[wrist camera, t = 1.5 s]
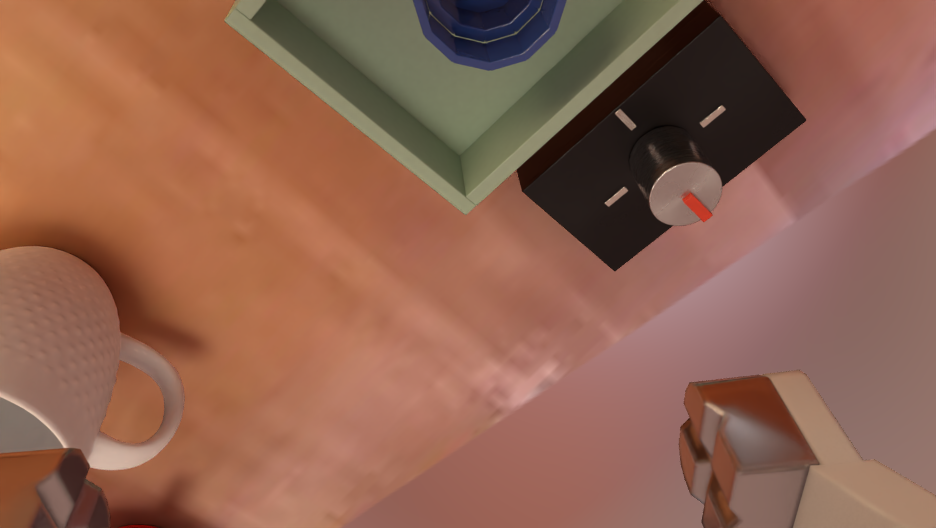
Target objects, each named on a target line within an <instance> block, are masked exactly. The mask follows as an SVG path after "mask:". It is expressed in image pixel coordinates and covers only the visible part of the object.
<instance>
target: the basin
mask: <svg viewBox="0 0 936 528" xmlns="http://www.w3.org/2000/svg"><path fill="white" fill-rule="evenodd" d="M702 1H703V0H567V1H566V4H565V7H564V11H563V14H562V17H561V20H560V23H559V26H558V29H557V31H556V33H555V34H554V35H553V36H552V37H551V38H550V39H549V40H548V41H547V42H546V43H545V44H544V45H543V46H542V47H541V48H540V49H539V50H538V51H537V52H536V53H535V54H533V55H532V56H531V57H530V58H529V59H527V60H526V61H523V62H520V63H517V64H513V65H510V66H506V67H503V68H499V69H496V70H492V71H491V70H490V71H487V70H482V69H478V68H474V67H469V66H465V65H460V64H456V63H453V62H451V61H450V60H449V59H448V58H447V57H446V56H445V55H444V54H443V53H441V52H440V51H439V50H438V49H437V48H436V47H435V46H434V45H433V44H432V43H431V42H429V41H428V40H427V39H426V38H425V36H424V35H423V32H422V29H421V26H420V22H419V19H418V16H417V13H416V10H415V6H414V3H413V0H235V2H234V4H233V6H232V8H231V9H230V11H229V13H228V15H227V17H226V18H225V22H226V23H227V24H228V25H230V26H231V27H232V28H233V29H235V30H236V31H237V32H238V33H240V34H241V35H242V36H243V37H245V38H246V39H247V40H248V41H250V42H251V43H252V44H253V45H255V46H256V47H257V48H258V49H260V50H261V51H262V52H263V53H265V54H266V55H267V56H268V57H269V58H271V59H272V60H273V61H274V62H276V63H277V64H278V65H279V66H281V67H282V68H283V69H284V70H286V71H287V72H288V73H289V74H291V75H292V76H293V77H294V78H296V79H297V80H298V81H299V82H301V83H302V84H303V85H304V86H306V87H307V88H308V89H309V90H311V91H312V92H313V93H314V94H315V95H317V96H318V97H319V98H320V99H322V100H323V101H324V102H325V103H327V104H328V105H329V106H330V107H332V108H333V109H334V110H335V111H337V112H338V113H339V114H340V115H342V116H343V117H344V118H345V119H347V120H348V121H349V122H350V123H352V124H353V125H354V126H355V127H356V128H358V129H359V130H360V131H361V132H363V133H364V134H365V135H366V136H368V137H369V138H370V139H371V140H373V141H374V142H375V143H376V144H378V145H379V146H380V147H381V148H383V149H384V150H385V151H386V152H388V153H389V154H390V155H391V156H393V157H394V158H395V159H396V160H398V161H399V162H400V163H401V164H402V165H404V166H405V167H406V168H407V169H409V170H410V171H411V172H412V173H414V174H415V175H416V176H417V177H419V178H420V179H421V180H422V181H424V182H425V183H426V184H427V185H429V186H430V187H431V188H432V189H434V190H435V191H436V192H437V193H439V194H440V195H441V196H442V197H444V198H445V199H446V200H447V201H448V202H450V203H451V204H452V205H453V206H455V207H456V208H457V209H458V210H460V211H461V212H462V213H463V214H465V215H467V214H468V213H469V212H470V211H471V210H472V209H473V208H474V207H475V206H476V205H478V204H479V203H480V202H481V201H482V200H483V199H485V198H486V197H487V196H488V195H489V194H490V193H491V192H492V191H493V190H494V189H496V188H497V187H498V186H499V185H500V184H501V183H502V182H503V181H504V180H506V179H507V178H508V177H509V176H510V175H511V174H512V173H513V172H514V171H515V170H517V169H518V168H519V167H520V166H521V165H522V164H523V163H524V162H525V161H526V160H528V159H529V158H530V157H531V156H532V155H533V154H534V153H535V152H536V151H538V150H539V149H540V148H541V147H542V146H543V145H544V144H545V143H546V142H547V141H549V140H550V139H551V138H552V137H553V136H554V135H555V134H556V133H557V132H559V131H560V130H561V129H562V128H563V127H564V126H565V125H566V124H567V123H568V122H570V121H571V120H572V119H573V118H574V117H575V116H576V115H577V114H578V113H579V112H581V111H582V110H583V109H584V108H585V107H586V106H587V105H588V104H589V103H591V102H592V101H593V100H594V99H595V98H596V97H597V96H598V95H599V94H600V93H602V92H603V91H604V90H605V89H606V88H607V87H608V86H609V85H610V84H612V83H613V82H614V81H615V80H616V79H617V78H618V77H619V76H620V75H621V74H623V73H624V72H625V71H626V70H627V69H628V68H629V67H630V66H631V65H633V64H634V63H635V62H636V61H637V60H638V59H639V58H640V57H641V56H642V55H644V54H645V53H646V52H647V51H648V50H649V49H650V48H651V47H652V46H653V45H655V44H656V43H657V42H658V41H659V40H660V39H661V38H662V37H663V36H665V35H666V34H667V33H668V32H669V31H670V30H671V29H672V28H673V27H674V26H676V25H677V24H678V23H679V22H680V21H681V20H682V19H683V18H684V17H686V16H687V15H688V14H689V13H690V12H691V11H692V10H693V9H694V8H695V7H697V6H698V5H699V4H700V3H701V2H702ZM542 2H543V0H542ZM541 6H542V3H541ZM428 9H429V8H428ZM540 9H541V7H540V8H539V9H538V12H539V11H540ZM429 12H430V11H429ZM538 12H537V13H538ZM537 13H536V14H537ZM430 14H431V12H430ZM536 14H535V15H536ZM431 15H432V14H431ZM535 15H534V16H535ZM432 16H433V15H432ZM534 16H533V17H534ZM433 17H434V16H433ZM533 17H532V18H533ZM434 18H435V17H434ZM532 18H531V19H532ZM435 19H436V18H435ZM531 19H530V20H531ZM436 20H437V19H436ZM530 20H529V21H530ZM437 21H438V20H437ZM529 21H528V22H529ZM438 22H439V21H438ZM528 22H527V23H528ZM439 23H440V22H439ZM527 23H526V24H527ZM440 24H441V23H440ZM526 24H525V25H526ZM441 25H442V24H441ZM525 25H524V26H525ZM442 26H443V25H442ZM524 26H523V27H524ZM523 27H522V28H523ZM522 28H521V29H522ZM521 29H520V30H521ZM520 30H519V31H520ZM448 31H449V30H448ZM519 31H518V32H519ZM449 32H450V31H449ZM518 32H515V33H514V34H512V35H515V34H517V33H518ZM450 33H451V32H450ZM451 34H452V33H451ZM452 35H453V36H455V34H452ZM512 35H508V36H512ZM508 36H505V37H508ZM455 37H459V36H455ZM505 37H502V38H505ZM460 38H463V37H460ZM502 38H498V39H502ZM464 39H467V38H464ZM498 39H495V40H498ZM468 40H472V39H468ZM495 40H491V41H495ZM473 41H476V40H473ZM491 41H488V42H491ZM477 42H480V41H477ZM488 42H486V41H484V42H481V43H488Z"/></svg>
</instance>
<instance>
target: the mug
mask: <svg viewBox="0 0 936 528" xmlns="http://www.w3.org/2000/svg"><path fill="white" fill-rule="evenodd" d="M119 324H120V322H119V318H118V312H117V307H116V305H115V302H114V299H113V297H112V294H111V292H110V290H109V288H108V287H107V285H106V284H105V282H104V280H103V279H102V278H101V277H100V275H99V274H98V273H97V272H96V271H95V270H94V269H93V268H92V267H91V266H89V265H88V264H87V263H85V262H84V261H82V260H81V259H79V258H77V257H76V256H74V255H71V254H69V253H67V252H64V251H61V250H58V249H54V248H49V247H42V246H23V247H15V248H9V249H4V250H0V453H10V452H22V451H35V450H47V449H60V448H77V449H81V451H82V452H83V454H84V456H85V458H86V459H87V461H88V463H89V465H90V467H91V468H96V469H102V470H122V469H129V468H133V467H136V466H139V465H141V464H143V463H145V462H147V461H149V460H150V459H152V458H153V457H155V456H156V455H157V454H158V453H159V452H160V451H161V450H162V449H164V447H165V446H166V445H167V444H168V443H169V441H170V440H171V439H172V437H173V436H174V434H175V432H176V430H177V429H178V426H179V424H180V422H181V418H182V414H183V410H184V401H185V397H184V387H183V384H182V380H181V378H180V376H179V373H178V371H177V370H176V369H175V367H174V366H173V365H172V364H171V363H170V362H169V361H168V360H167V359H166V358H165V357H164V356H163V355H161V354H160V353H159V352H157V351H156V350H154V349H152V348H151V347H150V346H148V345H146V344H144V343H142V342H140V341H138V340H136V339H134V338H132V337H130V336H128V335H125V334H124V333H121V332H120V328H119ZM119 360H121V361H124V362H126V363H128V364H131V365H133V366H134V367H136V368H138V369H140V370H141V371H143V372H145V373H146V374H148V375H149V376H150V377H151V378H152V379H153V380H154V381H155V382H156V383H157V384H158V386H159V387H160V389H161V391H162V394H163V397H164V416H163V421H162V423H161V426H160V428H159V429H158V431H157V432H156V433H155V434H154V435H153V436H152V437H151V438H150V439H148V440H147V441H144V442H142V443H126V442H121V441H119V440H116V439H114V438H111V437H110V436H108V435H106V434H104V433H102V432H100V427H101V424H102V422H103V420H104V418H105V416H106V410H107V407H108V404H109V402H110V400H111V396H112V390H113V386H114V384H115V382H116V373H117V370H118V367H119Z"/></svg>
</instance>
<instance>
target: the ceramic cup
mask: <svg viewBox="0 0 936 528" xmlns="http://www.w3.org/2000/svg"><path fill="white" fill-rule="evenodd" d="M119 528H158V527H154V526H148V525H128V526H123V527H119Z"/></svg>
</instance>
